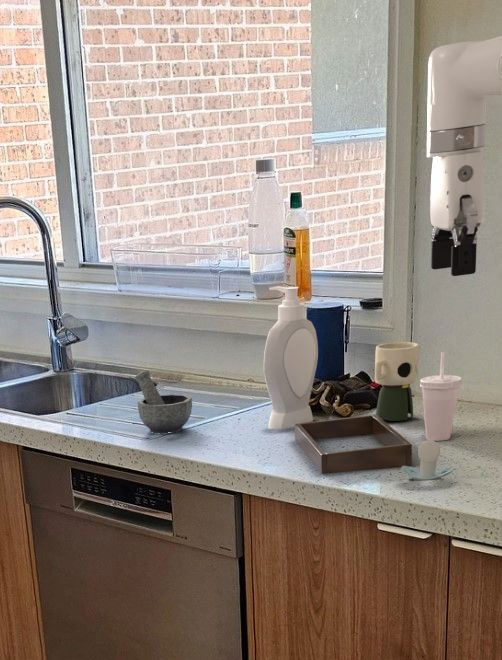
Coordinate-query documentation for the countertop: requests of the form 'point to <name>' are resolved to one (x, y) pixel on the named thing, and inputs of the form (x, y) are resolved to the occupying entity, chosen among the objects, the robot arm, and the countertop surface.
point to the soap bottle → (290, 363)
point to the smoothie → (439, 403)
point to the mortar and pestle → (162, 407)
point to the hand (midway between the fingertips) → (452, 271)
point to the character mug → (395, 379)
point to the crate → (384, 457)
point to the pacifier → (427, 464)
